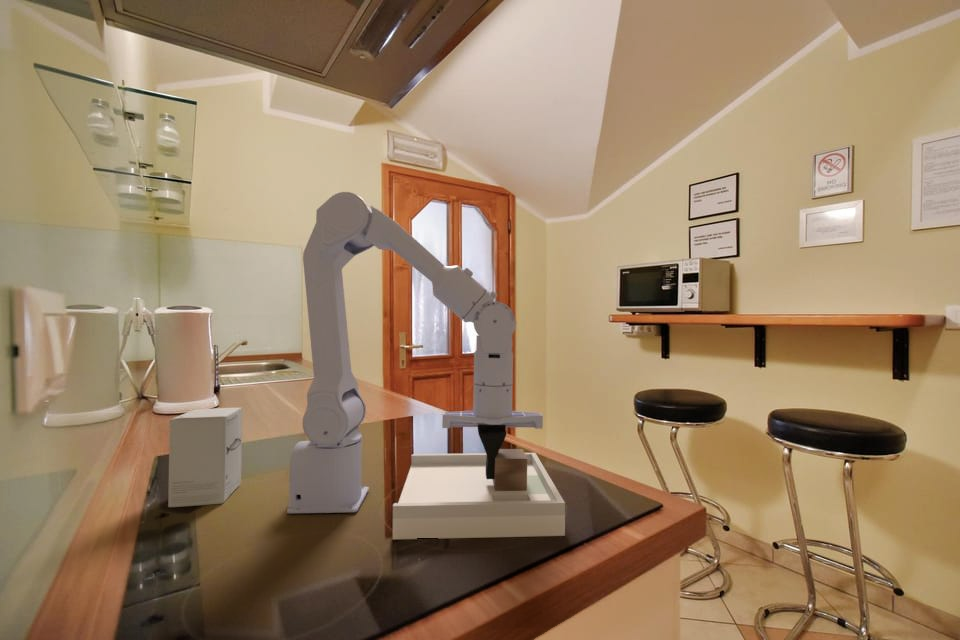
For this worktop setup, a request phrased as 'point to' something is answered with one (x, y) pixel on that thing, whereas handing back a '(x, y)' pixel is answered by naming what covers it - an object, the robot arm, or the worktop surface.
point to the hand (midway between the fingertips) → (491, 476)
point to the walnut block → (510, 470)
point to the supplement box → (204, 456)
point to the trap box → (474, 501)
